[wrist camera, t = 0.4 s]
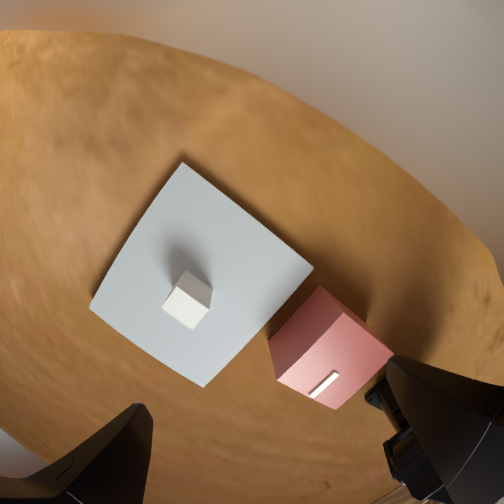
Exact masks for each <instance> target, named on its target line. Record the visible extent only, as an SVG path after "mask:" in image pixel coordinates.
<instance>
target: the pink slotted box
mask: <svg viewBox="0 0 504 504" xmlns="http://www.w3.org/2000/svg"><path fill="white" fill-rule="evenodd" d="M268 344H269V348H270V352H271V357H272V361H273V365H274V370H275V374H276V378H277V381H279V382H281V383H283V384H285V385H287V386H289V387H290V388H292V389H294V390H296V391H298V392H300V393H302V394H304V395H306V396H308V397H310V398H312V399H314V400H316V401H318V402H320V403H322V404H324V405H326V406H328V407H330V408H332V409H335V410H336V409H337V408H338V407H340V406H341V405H342V404H343V403H344V402H345V401H347V400H348V399H349V398H350V397H351V396H352V395H353V394H354V393H355V392H357V391H358V390H359V389H360V388H361V387H362V386H363V385H364V384H365V383H366V382H367V381H368V380H369V379H370V378H371V377H372V376H373V375H374V374H375V373H376V372H377V371H378V370H379V369H380V368H381V367H382V366H383V365H384V364H385V363H386V362H387V361H388V359H389V358H390V357H392V356H393V355H394V353H393V352H392V351H391V350H390V349H389V348H388V347H387V345H386V344H385V343H384V342H383V341H382V340H381V339H380V338H379V337H378V336H377V335H376V334H375V332H374V331H373V330H372V329H371V328H370V327H369V326H368V325H367V324H366V323H365V322H364V321H363V320H361V319H360V318H359V317H358V316H357V315H355V314H354V313H353V312H352V311H351V310H349V309H348V308H347V307H346V306H345V305H343V304H342V303H341V302H340V301H339V300H337V299H336V298H335V297H334V296H333V295H331V294H330V293H329V292H328V291H327V290H325V289H324V288H323V287H322V286H320V285H319V286H318V287H317V288H316V289H315V290H314V291H313V293H312V294H311V295H310V296H309V297H308V298H307V299H306V301H305V302H304V303H303V304H302V305H301V306H300V307H299V308H298V309H297V311H296V312H295V313H294V314H293V315H292V316H291V317H290V318H289V319H288V320H287V322H286V323H285V324H284V325H283V326H282V327H281V328H280V329H279V330H278V331H277V332H276V333H275V334H274V335H273V336H272V337H271V339H270V340H269V341H268Z"/></svg>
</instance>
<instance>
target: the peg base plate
mask: <svg viewBox="0 0 504 504" xmlns="http://www.w3.org/2000/svg"><path fill="white" fill-rule="evenodd" d="M313 269H314V267H313V266H312V265H311V264H310V263H309V262H308V261H306V260H305V259H304V258H303V257H302V256H300V255H299V254H298V253H297V252H296V251H294V250H293V249H292V248H291V247H289V246H288V245H287V244H286V243H285V242H283V241H282V240H281V239H280V238H279V237H277V236H276V235H275V234H274V233H272V232H271V231H270V230H269V229H268V228H266V227H265V226H264V225H263V224H261V223H260V222H259V221H258V220H256V219H255V218H254V217H253V216H251V215H250V214H249V213H248V212H246V211H245V210H244V209H243V208H241V207H240V206H239V205H238V204H236V203H235V202H234V201H233V200H231V199H230V198H229V197H228V196H226V195H225V194H224V193H222V192H221V191H220V190H219V189H217V188H216V187H215V186H214V185H212V184H211V183H210V182H208V181H207V180H206V179H205V178H203V177H202V176H201V175H199V174H198V173H197V172H196V171H194V170H193V169H192V168H190V167H189V166H188V165H186V164H185V163H183V162H182V163H181V164H180V166H179V167H178V168H177V170H176V171H175V172H174V174H173V175H172V176H171V177H170V179H169V180H168V182H167V183H166V184H165V186H164V187H163V188H162V190H161V191H160V192H159V194H158V195H157V197H156V198H155V199H154V201H153V202H152V204H151V205H150V207H149V208H148V209H147V211H146V212H145V214H144V215H143V217H142V218H141V220H140V221H139V223H138V224H137V226H136V227H135V229H134V230H133V232H132V233H131V235H130V237H129V238H128V240H127V241H126V243H125V244H124V246H123V248H122V249H121V251H120V253H119V254H118V256H117V258H116V259H115V261H114V263H113V264H112V266H111V268H110V269H109V271H108V273H107V275H106V276H105V278H104V280H103V282H102V284H101V285H100V287H99V289H98V291H97V293H96V295H95V296H94V298H93V300H92V302H91V304H90V306H89V308H90V309H91V310H92V311H93V312H94V313H95V314H97V315H98V316H99V317H100V318H102V319H103V320H104V321H105V322H107V323H108V324H109V325H110V326H112V327H113V328H114V329H115V330H117V331H118V332H119V333H121V334H122V335H123V336H125V337H126V338H127V339H129V340H130V341H132V342H133V343H134V344H136V345H137V346H139V347H140V348H141V349H143V350H144V351H146V352H147V353H149V354H150V355H152V356H153V357H154V358H156V359H157V360H159V361H161V362H162V363H164V364H165V365H167V366H168V367H170V368H171V369H173V370H175V371H176V372H178V373H179V374H181V375H183V376H184V377H186V378H188V379H189V380H191V381H193V382H195V383H196V384H198V385H200V386H202V387H204V386H205V385H206V384H208V383H209V382H210V381H211V380H212V379H213V378H214V377H215V376H216V375H217V374H218V373H219V372H220V371H221V370H222V369H223V368H224V367H225V366H226V365H227V364H228V362H229V361H230V360H231V359H232V358H233V357H234V356H235V355H236V354H237V353H238V352H239V351H240V350H241V349H242V348H243V347H244V346H245V345H246V344H247V343H248V342H249V341H250V340H251V339H252V337H253V336H254V335H255V334H256V333H257V332H258V331H259V330H260V329H261V328H262V327H263V326H264V325H265V324H266V322H267V321H268V320H269V319H270V318H271V317H272V316H273V315H274V314H275V313H276V311H277V310H278V309H279V308H280V307H281V306H282V305H283V304H284V303H285V301H286V300H287V299H288V298H289V297H290V296H291V295H292V293H293V292H294V291H295V290H296V289H297V288H298V287H299V285H300V284H301V283H302V282H303V281H304V280H305V278H306V277H307V276H308V275H309V274H310V273H311V271H312V270H313Z"/></svg>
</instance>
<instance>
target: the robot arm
mask: <svg viewBox="0 0 504 504" xmlns="http://www.w3.org/2000/svg"><path fill="white" fill-rule="evenodd" d="M365 401H366V402H367V403H369V404H371V405H373V406H375V407H376V408H378V409H380V410H382V411H384V413H385V414H386V416H387V417H388V419H389V421H390V422H391V424H392V425H393V427H394V429H395V430H396V432H397V433H396V434H395V435H394V436H393V437H391V438H390V439H389V440H387V441H385V442H384V443H383V447H384V452H385V455H386V458H387V462H388V465H389V469H390V472H391V474H392V477H393V479H395V480H398V481H399V482H400V483H401V484H403V485H405V486H407V488H408V490H409V492H410V494H411V496H412V497H413V498H415V499H417V500H419V501H423V500H425V499H427V500H431V501H435V502H439V503H443V504H504V386H498V385H493V384H489V383H485V382H482V381H478V380H475V379H473V380H472V379H471V378H468V377H465V376H462V375H458V374H455V373H452V372H449V371H446V370H443V369H440V368H437V367H434V366H431V365H428V364H425V363H422V362H419V361H416V360H413V359H410V358H407V357H404V356H401V355H395V356H392V357H390V358H389V359H388V361H387V373H386V378H385V379H384V380H383V381H382V382H381V383H380V384H379V385H378V386H377V387H376V388H375V389H374V390H373V391H371V392H370V393H369V394H368V395H367V396H366V397H365ZM152 433H153V419H152V416H151V415H150V413H149V411H148V410H147V408H146V406H145V405H144V404H143V403H133V404H132V405H131V406H129V407H128V408H127V409H125V410H124V411H123V412H122V413H120V414H119V415H118V416H117V417H115V418H114V419H113V420H112V421H110V422H109V423H108V424H106V425H105V426H104V427H102V428H101V429H100V430H99V431H97V432H96V433H95V434H93V435H92V436H91V437H89V438H88V439H87V440H85V441H84V442H83V443H81V444H80V445H79V446H77V447H76V448H75V449H74V450H72V451H70V452H69V453H68V454H66V455H65V456H63V457H62V458H60V459H59V460H57V461H56V462H54V463H52V464H51V465H49V466H47V467H45V468H44V469H42V470H40V471H38V472H36V473H34V474H33V475H31V476H29V477H26V478H20V479H17V478H8V477H2V476H0V504H143V497H144V491H145V485H146V479H147V474H148V468H149V463H150V457H151V447H152Z"/></svg>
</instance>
